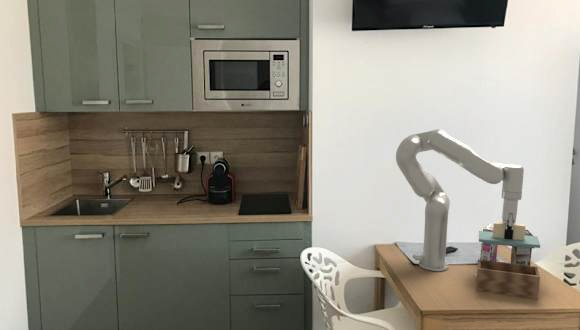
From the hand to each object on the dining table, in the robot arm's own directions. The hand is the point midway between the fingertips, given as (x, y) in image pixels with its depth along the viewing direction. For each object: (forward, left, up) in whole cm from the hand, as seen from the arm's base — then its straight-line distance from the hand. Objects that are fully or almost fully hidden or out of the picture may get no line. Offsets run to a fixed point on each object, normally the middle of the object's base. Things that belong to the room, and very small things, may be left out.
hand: (508, 237), depth 210 cm
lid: (0, 0, -2) cm, 2 cm away
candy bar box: (-6, +16, -17) cm, 24 cm away
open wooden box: (0, -14, -17) cm, 22 cm away
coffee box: (+7, +14, -17) cm, 23 cm away
